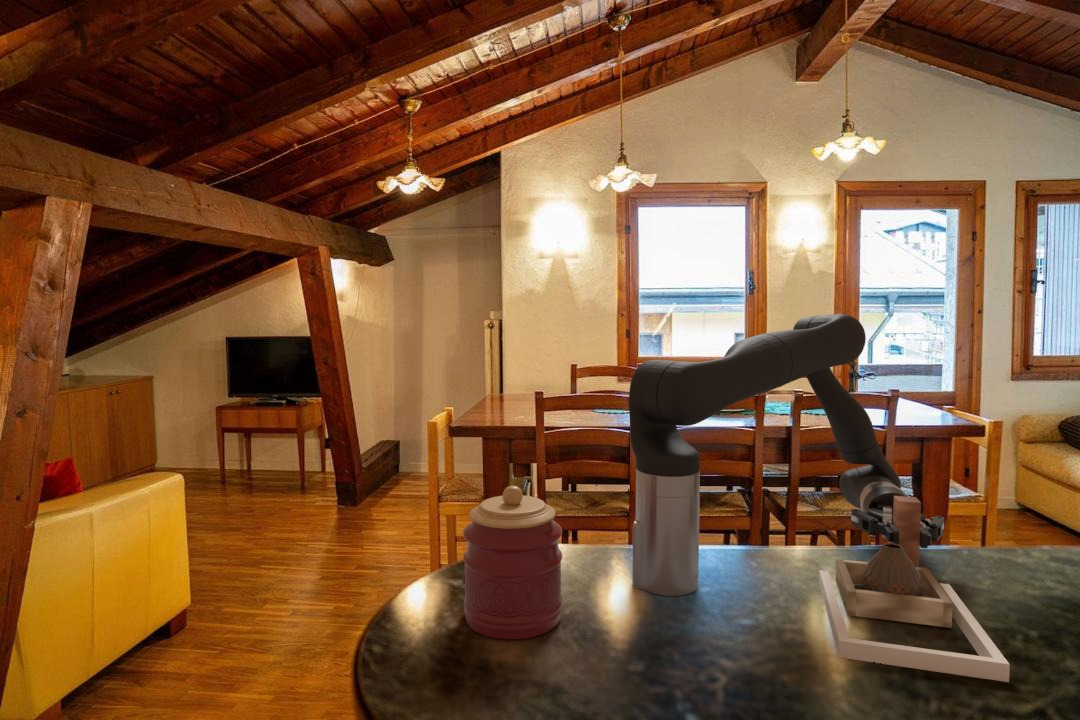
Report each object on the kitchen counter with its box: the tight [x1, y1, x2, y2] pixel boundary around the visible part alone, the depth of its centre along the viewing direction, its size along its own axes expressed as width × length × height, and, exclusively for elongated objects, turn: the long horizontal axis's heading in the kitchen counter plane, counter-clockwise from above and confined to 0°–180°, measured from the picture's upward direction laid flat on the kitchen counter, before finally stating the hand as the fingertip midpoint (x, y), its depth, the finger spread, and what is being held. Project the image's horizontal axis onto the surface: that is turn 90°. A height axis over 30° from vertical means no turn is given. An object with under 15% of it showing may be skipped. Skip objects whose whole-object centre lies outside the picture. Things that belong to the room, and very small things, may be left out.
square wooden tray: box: [835, 496, 953, 629], centre depth 91 cm, size 12×18×12 cm
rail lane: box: [818, 569, 1011, 683], centre depth 82 cm, size 17×22×2 cm
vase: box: [862, 542, 922, 597], centre depth 87 cm, size 7×7×9 cm
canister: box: [462, 485, 563, 640], centre depth 84 cm, size 13×13×18 cm
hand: (910, 540), depth 94 cm, fingers open, 3 cm apart
